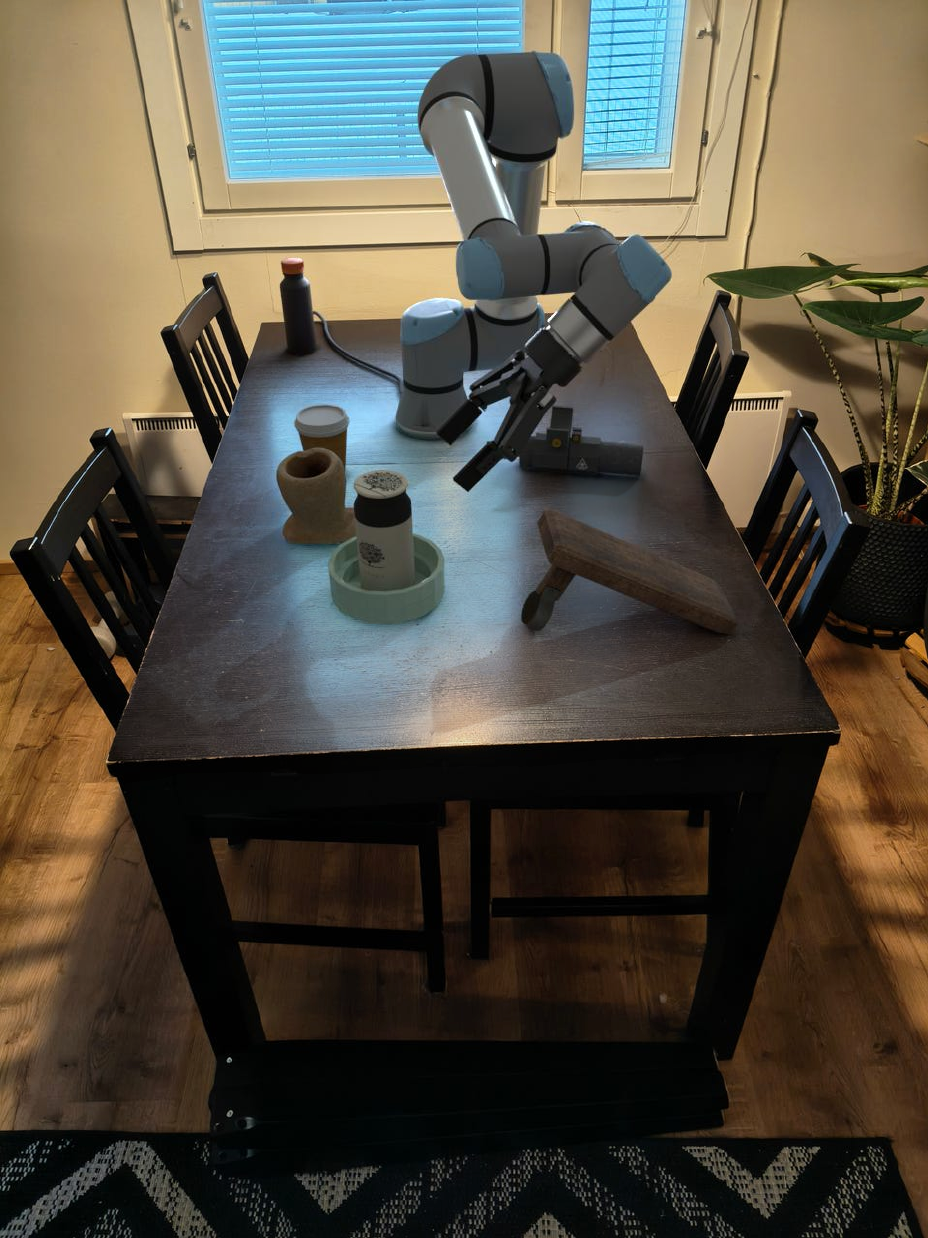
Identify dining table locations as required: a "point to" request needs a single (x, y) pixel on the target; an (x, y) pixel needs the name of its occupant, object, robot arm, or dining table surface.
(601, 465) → the laser sight
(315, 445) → the disposable coffee cup
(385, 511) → the travel mug
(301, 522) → the stone cup
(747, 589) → the dining table surface
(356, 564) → the bowl
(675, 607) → the dark brown angled bar
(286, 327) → the water bottle
